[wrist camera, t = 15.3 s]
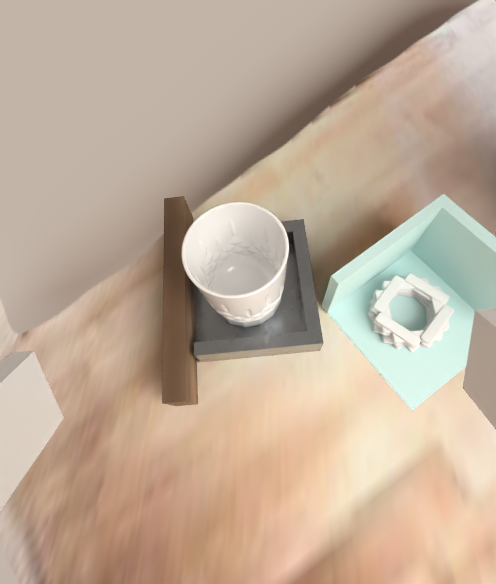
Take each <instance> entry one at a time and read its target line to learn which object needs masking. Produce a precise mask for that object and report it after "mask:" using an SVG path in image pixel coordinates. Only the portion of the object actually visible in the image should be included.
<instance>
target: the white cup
mask: <svg viewBox="0 0 496 584" xmlns="http://www.w3.org/2000/svg"><path fill="white" fill-rule="evenodd" d="M288 253H289V241H288V236H287V233H286V230H285V228H284V226H283V225H282V223H281V222H280V220H279V219H278V218H277V217H276V216H275V215H274V214H273V213H271V212H270V211H268V210H267V209H265V208H263V207H261V206H259V205H256V204H252V203H247V202H230V203H225V204H221V205H218V206H215V207H213V208H211V209H209V210H207V211H206V212H204V213H203V214H202V215H200V216H199V217H198V218H197V219H196V220H195V221H194V222H193V223H192V225H191V226H190V228H189V229H188V231H187V233H186V235H185V237H184V240H183V244H182V262H183V266H184V269H185V271H186V273H187V275H188V276H189V278H190V279H191V281H192V282H193V283H194V284H195V286H196V287H197V288H198V290H199V291H200V292H201V294H202V295H203V296H204V298H205V299H206V300H207V301H208V303H209V304H210V305H211V306H212V307H213V308H214V309H215V310H216V311H217V312H218V314H219V315H221V316H222V317H223V318H224V319H225V320H227V321H228V322H229V323H230V324H233V325H237V326H241V327H245V328H246V327H251V326H256V325H261V324H262V323H264V322H265V321H266V320H268V319H269V318H271V317H272V316H273V315H274V314H275V312H276V310H277V308H278V306H279V304H280V302H281V295H282V292H283V288H284V282H285V277H286V269H287V261H288Z"/></svg>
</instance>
